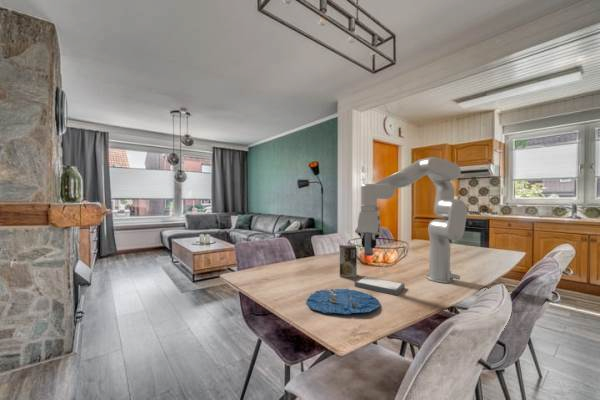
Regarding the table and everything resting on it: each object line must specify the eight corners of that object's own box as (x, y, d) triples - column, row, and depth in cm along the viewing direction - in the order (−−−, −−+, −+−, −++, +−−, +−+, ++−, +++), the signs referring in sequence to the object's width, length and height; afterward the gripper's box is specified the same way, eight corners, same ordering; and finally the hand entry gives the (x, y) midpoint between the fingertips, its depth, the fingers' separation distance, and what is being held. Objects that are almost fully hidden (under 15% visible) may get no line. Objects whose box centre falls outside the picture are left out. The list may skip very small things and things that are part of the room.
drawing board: (404, 287, 123) (404, 283, 123) (397, 295, 113) (397, 290, 113) (363, 279, 134) (363, 275, 134) (354, 286, 124) (354, 282, 124)
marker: (374, 254, 126) (374, 225, 126) (371, 256, 122) (371, 226, 122) (365, 253, 128) (366, 225, 128) (362, 254, 125) (362, 225, 125)
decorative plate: (292, 300, 111) (291, 288, 111) (346, 288, 125) (346, 277, 125) (333, 328, 85) (333, 312, 85) (396, 308, 100) (396, 295, 100)
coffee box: (355, 274, 144) (355, 245, 144) (356, 277, 138) (357, 247, 138) (338, 273, 145) (339, 244, 145) (339, 277, 139) (339, 247, 138)
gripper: (388, 209, 123) (388, 247, 124) (355, 208, 133) (355, 244, 133) (383, 210, 117) (383, 250, 117) (349, 209, 127) (349, 246, 127)
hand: (368, 246), depth 125 cm, fingers closed on marker, 4 cm apart
